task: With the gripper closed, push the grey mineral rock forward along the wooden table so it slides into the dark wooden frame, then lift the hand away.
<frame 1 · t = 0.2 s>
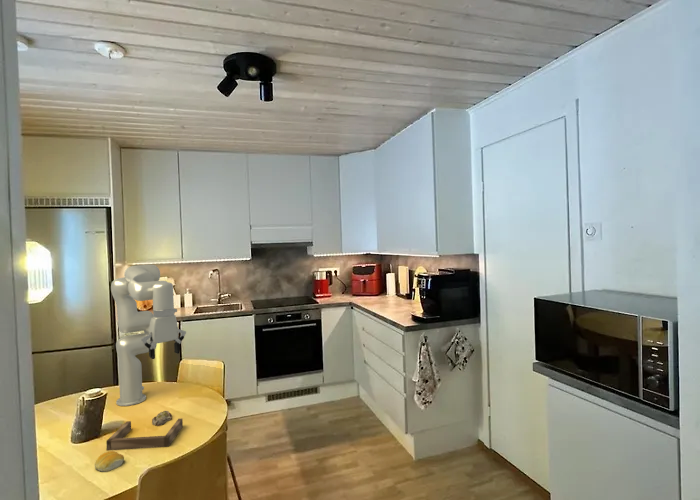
hand: (165, 355, 161), 31 cm above the table, tool pointing down, fingers open, 9 cm apart
mineral rock: (161, 421, 171), on the table
bread roll: (109, 465, 138), on the table
dark wooden frame: (146, 437, 156), on the table
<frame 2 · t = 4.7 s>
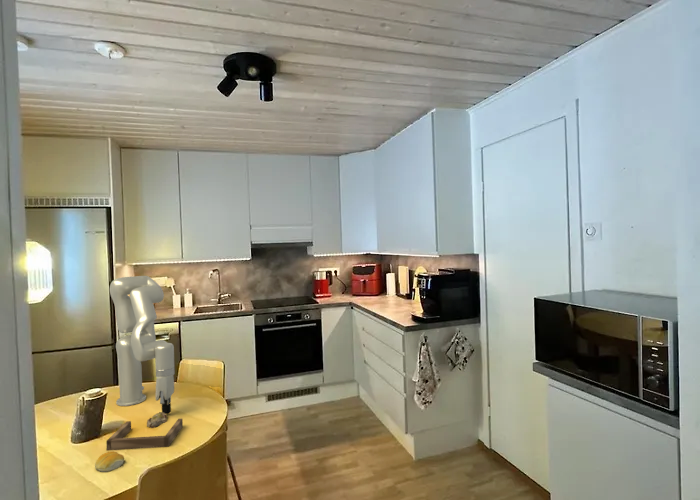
hand: (166, 412, 176), 1 cm above the table, tool pointing down, fingers closed
mineral rock: (156, 423, 169), on the table, touching gripper
everything else where it was.
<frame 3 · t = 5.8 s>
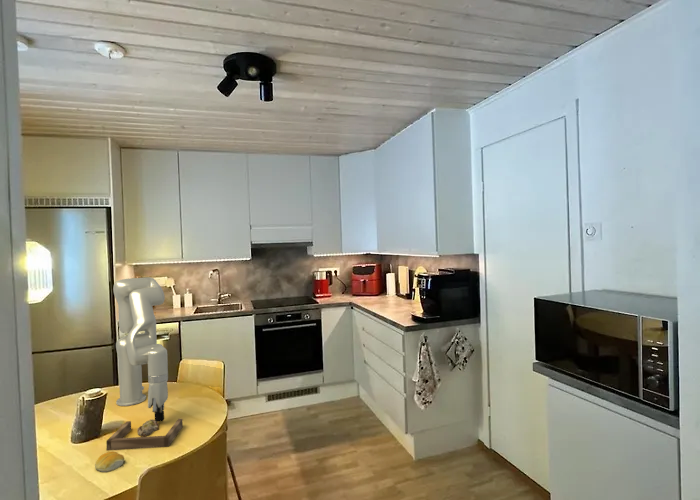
hand: (159, 420, 168), 1 cm above the table, tool pointing down, fingers closed
mineral rock: (147, 431, 162), on the table
everything else where it was.
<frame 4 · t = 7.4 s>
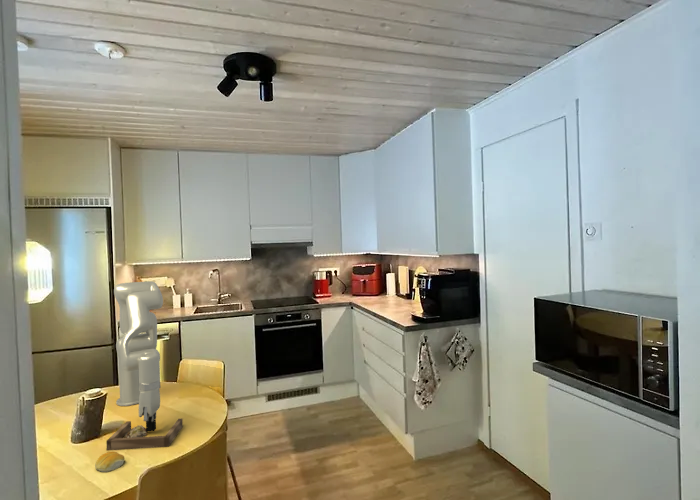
hand: (151, 430, 160), 1 cm above the table, tool pointing down, fingers closed
mineral rock: (135, 437, 157), on the table, touching gripper
everything else where it was.
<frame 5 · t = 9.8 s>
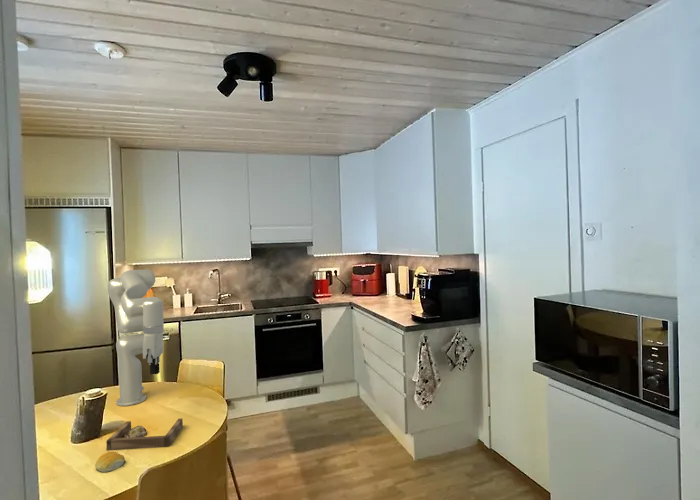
hand: (154, 373, 165), 22 cm above the table, tool pointing down, fingers closed
mineral rock: (135, 438, 157), on the table
everything else where it was.
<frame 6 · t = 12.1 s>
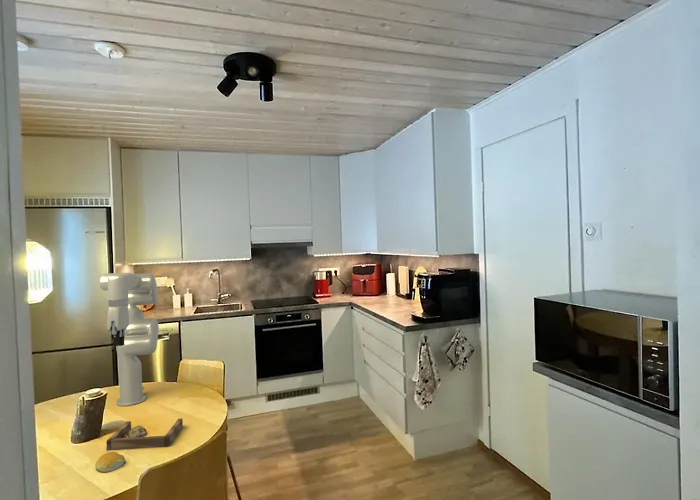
hand: (119, 345, 172), 32 cm above the table, tool pointing down, fingers closed
nothing on the table moved.
at the end: mineral rock inside the target area on the dark wooden frame (5.6 cm from its centre), point -0.5 cm above the dark wooden frame's base; mineral rock moved 14.4 cm from its start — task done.
